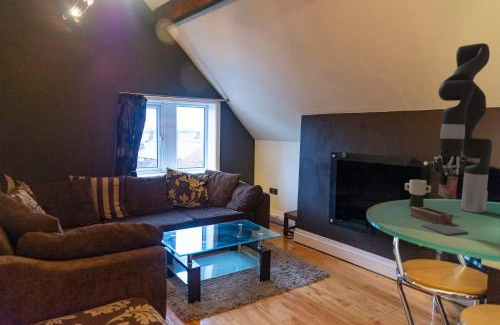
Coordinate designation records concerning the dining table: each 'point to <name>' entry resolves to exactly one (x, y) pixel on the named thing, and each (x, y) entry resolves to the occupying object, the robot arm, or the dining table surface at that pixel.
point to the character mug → (417, 192)
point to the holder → (431, 215)
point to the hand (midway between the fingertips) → (447, 184)
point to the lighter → (449, 185)
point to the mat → (444, 229)
